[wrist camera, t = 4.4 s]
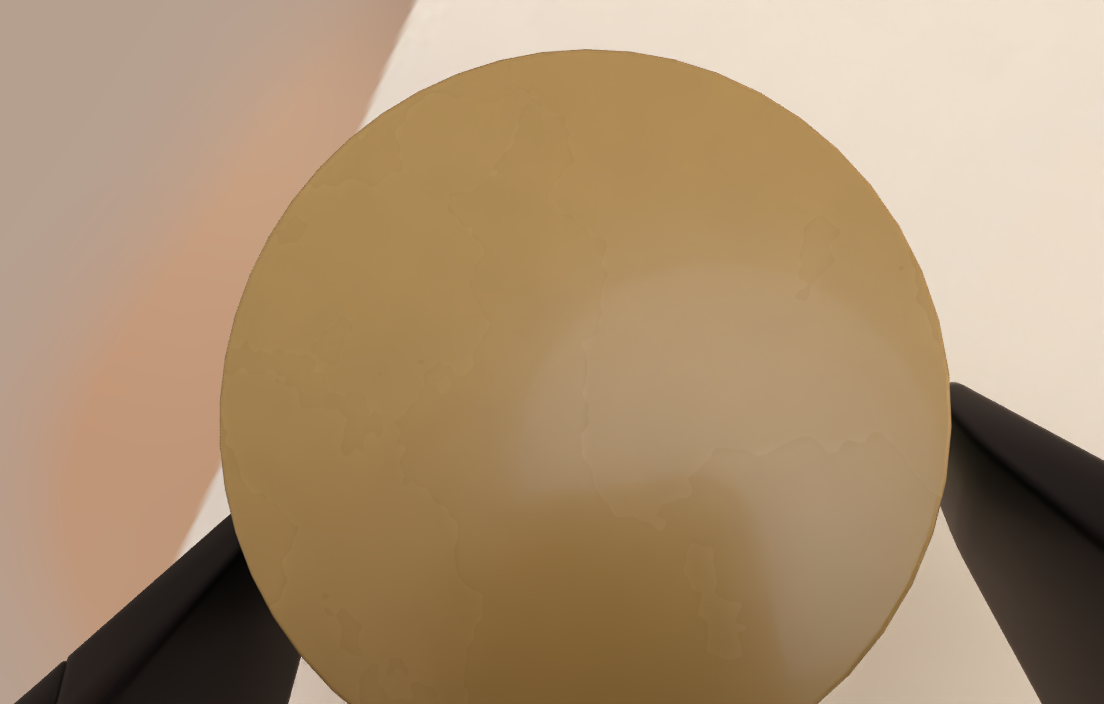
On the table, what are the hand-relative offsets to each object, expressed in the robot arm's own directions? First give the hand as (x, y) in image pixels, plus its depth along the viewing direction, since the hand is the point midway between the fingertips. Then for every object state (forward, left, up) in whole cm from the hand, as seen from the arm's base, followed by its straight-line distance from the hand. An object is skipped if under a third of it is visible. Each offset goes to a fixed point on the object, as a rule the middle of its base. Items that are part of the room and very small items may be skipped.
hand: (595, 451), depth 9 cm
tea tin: (+1, 0, -8) cm, 8 cm away
